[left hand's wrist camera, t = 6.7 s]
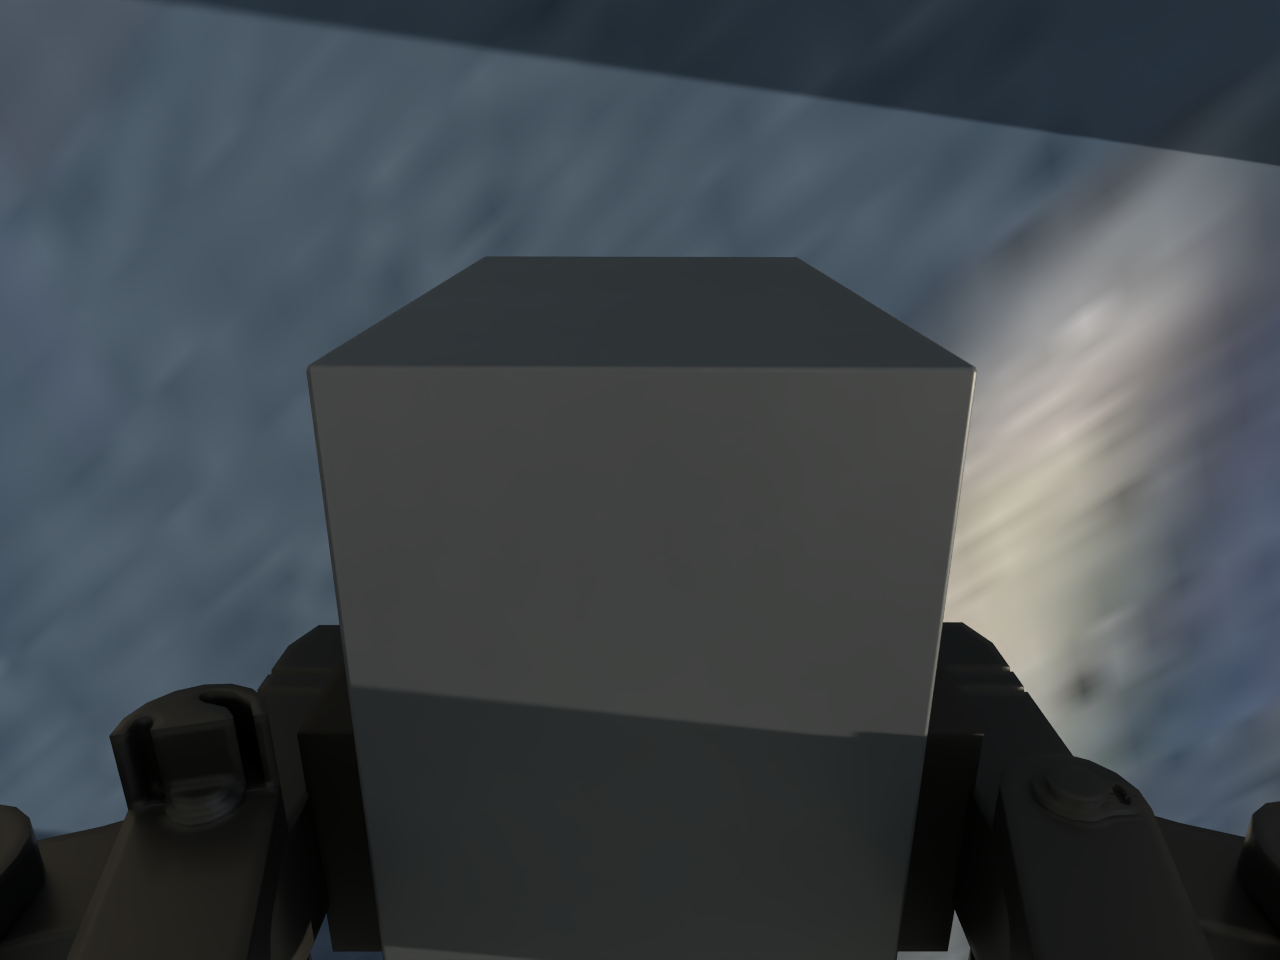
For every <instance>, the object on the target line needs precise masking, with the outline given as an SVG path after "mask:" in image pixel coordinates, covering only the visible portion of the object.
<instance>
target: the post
mask: <svg viewBox="0 0 1280 960" xmlns="http://www.w3.org/2000/svg"><path fill="white" fill-rule="evenodd" d="M306 371H307V379H308V387H309V394H310V402H311V410H312V417H313V425H314V433H315V440H316V448H317V456H318V463H319V471H320V479H321V486H322V494H323V502H324V509H325V517H326V524H327V532H328V540H329V547H330V555H331V563H332V570H333V578H334V586H335V593H336V601H337V609H338V616H339V624H340V632H341V639H342V647H343V655H344V662H345V670H346V678H347V685H348V693H349V700H350V708H351V716H352V723H353V731H354V739H355V746H356V754H357V762H358V769H359V777H360V785H361V792H362V800H363V808H364V815H365V823H366V831H367V838H368V846H369V854H370V861H371V869H372V876H373V884H374V892H375V899H376V907H377V915H378V922H379V930H380V938H381V945H382V953H383V960H897V953H898V946H899V938H900V931H901V924H902V916H903V909H904V902H905V894H906V887H907V880H908V872H909V865H910V858H911V851H912V843H913V836H914V829H915V821H916V814H917V807H918V799H919V792H920V785H921V778H922V770H923V763H924V756H925V748H926V741H927V734H928V726H929V719H930V712H931V704H932V697H933V690H934V683H935V675H936V668H937V661H938V653H939V646H940V639H941V631H942V624H943V617H944V610H945V602H946V595H947V588H948V580H949V573H950V566H951V558H952V551H953V544H954V536H955V529H956V522H957V515H958V507H959V500H960V493H961V485H962V478H963V471H964V463H965V456H966V449H967V441H968V434H969V427H970V420H971V412H972V405H973V398H974V390H975V383H976V376H977V371H976V367H974V366H972V365H971V364H969V363H968V362H966V361H964V360H963V359H961V358H959V357H958V356H956V355H955V354H953V353H951V352H950V351H948V350H947V349H945V348H943V347H942V346H940V345H938V344H937V343H935V342H934V341H932V340H930V339H929V338H927V337H925V336H924V335H922V334H921V333H919V332H917V331H916V330H914V329H912V328H911V327H909V326H908V325H906V324H904V323H903V322H901V321H900V320H898V319H896V318H895V317H893V316H891V315H890V314H888V313H887V312H885V311H883V310H882V309H880V308H878V307H877V306H875V305H874V304H872V303H870V302H869V301H867V300H866V299H864V298H862V297H861V296H859V295H857V294H856V293H854V292H853V291H851V290H849V289H848V288H846V287H844V286H843V285H841V284H840V283H838V282H836V281H835V280H833V279H831V278H830V277H828V276H827V275H825V274H823V273H822V272H820V271H819V270H817V269H815V268H814V267H812V266H810V265H809V264H807V263H806V262H804V261H802V260H801V259H799V258H797V257H484V258H482V259H481V260H479V261H477V262H476V263H474V264H472V265H471V266H469V267H468V268H466V269H464V270H463V271H461V272H459V273H458V274H456V275H455V276H453V277H451V278H450V279H448V280H446V281H445V282H443V283H442V284H440V285H438V286H437V287H435V288H433V289H432V290H430V291H429V292H427V293H425V294H424V295H422V296H420V297H419V298H417V299H416V300H414V301H412V302H411V303H409V304H407V305H406V306H404V307H403V308H401V309H399V310H398V311H396V312H394V313H393V314H391V315H390V316H388V317H386V318H385V319H383V320H381V321H380V322H378V323H377V324H375V325H373V326H372V327H370V328H368V329H367V330H365V331H364V332H362V333H360V334H359V335H357V336H355V337H354V338H352V339H350V340H349V341H347V342H346V343H344V344H342V345H341V346H339V347H337V348H336V349H334V350H333V351H331V352H329V353H328V354H326V355H324V356H323V357H321V358H320V359H318V360H316V361H315V362H313V363H311V364H310V365H308V367H307V370H306Z"/></svg>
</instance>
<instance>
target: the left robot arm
mask: <svg viewBox="0 0 1280 960" xmlns="http://www.w3.org/2000/svg"><path fill="white" fill-rule="evenodd" d="M109 737H110V741H111V744H112V748H113V752H114V756H115V760H116V764H117V768H118V772H119V776H120V779H121V783H122V787H123V791H124V795H125V799H126V803H127V807H128V812H127V815H126V817H125V819H124V820H123V821H120V822H116V823H113V824H109V825H106V826H102V827H97V828H93V829H88V830H84V831H79V832H74V833H70V834H65V835H61V836H56V837H52V838H47V839H42V840H38V841H36V838H35V834H34V831H33V828H32V825H31V822H30V818H29V817H28V816H26V815H25V814H24V813H23V812H22V811H20V810H19V809H18V808H17V807H12V806H6V805H0V960H312V958H311V953H310V951H311V949H312V947H313V944H314V942H315V939H316V937H317V934H318V932H319V929H320V927H321V925H322V922H323V920H324V917H325V915H326V912H327V918H328V924H329V930H330V936H331V942H332V948H333V951H382V945H381V938H380V930H379V922H378V915H377V907H376V899H375V892H374V884H373V876H372V869H371V861H370V854H369V846H368V838H367V831H366V823H365V815H364V808H363V800H362V792H361V785H360V777H359V769H358V762H357V754H356V746H355V739H354V731H353V723H352V716H351V708H350V700H349V693H348V685H347V678H346V670H345V662H344V655H343V647H342V639H341V632H340V625H318V626H317V627H315V628H314V629H312V630H311V631H310V632H308V633H307V634H305V635H304V636H302V637H301V638H299V639H298V640H296V641H295V642H293V643H292V644H291V645H289V646H288V647H287V649H286V650H285V652H284V653H283V654H282V656H281V657H280V659H279V660H278V662H277V663H276V664H275V666H274V667H273V669H272V673H271V675H268V676H267V677H266V679H265V680H264V681H263V683H262V684H261V686H260V687H259V688H258V692H256V691H255V690H253V689H251V688H247V687H243V686H239V685H234V684H207V685H200V686H196V687H191V688H187V689H183V690H178V691H174V692H172V693H169V694H167V695H165V696H162V697H160V698H157V699H155V700H153V701H150V702H148V703H146V704H144V705H143V706H142V707H140V708H139V709H137V710H136V711H134V712H133V713H131V714H130V715H128V716H127V717H125V718H124V719H123V720H122V721H121V722H120V724H119V725H118V726H117V727H116V728H115V730H114V731H113V732H112V733H111V735H110V736H109ZM954 910H955V911H956V914H957V916H958V919H959V921H960V923H961V926H962V928H963V931H964V933H965V936H966V938H967V940H968V943H969V945H970V953H969V958H968V960H1280V801H1279V802H1272V803H1266V804H1265V805H1263V806H1262V807H1261V808H1260V809H1258V810H1257V811H1256V812H1255V813H1254V814H1253V815H1252V818H1251V821H1250V824H1249V828H1248V831H1247V834H1246V837H1242V836H1237V835H1232V834H1228V833H1223V832H1219V831H1214V830H1209V829H1205V828H1200V827H1196V826H1191V825H1186V824H1182V823H1178V822H1174V821H1171V820H1167V819H1164V818H1160V817H1157V816H1154V813H1153V811H1152V809H1151V807H1150V806H1149V804H1148V803H1147V802H1146V800H1145V799H1144V797H1143V796H1142V794H1141V793H1140V792H1139V790H1138V789H1136V788H1135V787H1134V786H1133V785H1131V784H1130V783H1129V782H1127V781H1126V780H1125V779H1123V778H1122V777H1121V776H1120V775H1118V774H1117V773H1115V772H1113V771H1111V770H1109V769H1107V768H1105V767H1103V766H1100V765H1098V764H1096V763H1094V762H1092V761H1090V760H1086V759H1082V758H1078V757H1074V756H1073V755H1072V754H1071V752H1070V751H1069V750H1068V748H1067V747H1066V745H1065V744H1064V743H1063V741H1062V740H1061V738H1060V737H1059V736H1058V734H1057V733H1056V731H1055V730H1054V729H1053V727H1052V726H1051V724H1050V723H1049V722H1048V720H1047V719H1046V717H1045V716H1044V714H1043V713H1042V712H1041V710H1040V709H1039V707H1038V706H1037V705H1036V703H1035V702H1034V700H1033V699H1032V698H1031V696H1030V695H1029V693H1028V692H1024V686H1023V685H1022V684H1021V682H1020V681H1019V679H1018V678H1017V677H1016V675H1015V674H1014V672H1010V667H1009V665H1008V664H1007V663H1006V661H1005V660H1004V658H1003V657H1002V656H1001V654H1000V653H999V651H998V650H997V649H996V647H995V646H994V644H993V643H992V642H990V641H989V640H987V639H986V638H984V637H983V636H982V635H980V634H979V633H977V632H976V631H974V630H973V629H971V628H970V627H968V626H967V625H965V624H964V623H962V622H943V624H942V631H941V639H940V646H939V653H938V661H937V668H936V675H935V683H934V690H933V697H932V704H931V712H930V719H929V726H928V734H927V741H926V748H925V756H924V763H923V770H922V778H921V785H920V792H919V799H918V807H917V814H916V821H915V829H914V836H913V843H912V851H911V858H910V865H909V872H908V880H907V887H906V894H905V902H904V909H903V916H902V924H901V931H900V938H899V946H898V951H948V946H949V940H950V934H951V928H952V922H953V916H954Z"/></svg>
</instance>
